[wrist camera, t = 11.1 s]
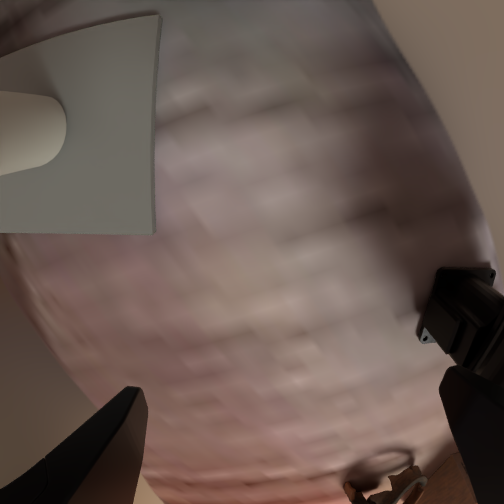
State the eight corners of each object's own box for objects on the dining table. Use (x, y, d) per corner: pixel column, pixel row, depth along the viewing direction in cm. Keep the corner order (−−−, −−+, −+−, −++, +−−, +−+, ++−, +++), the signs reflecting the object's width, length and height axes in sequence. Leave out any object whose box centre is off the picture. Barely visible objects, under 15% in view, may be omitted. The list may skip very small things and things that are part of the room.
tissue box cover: (404, 500, 35) (417, 544, 25) (451, 453, 30) (475, 503, 21) (495, 472, 36) (511, 503, 27) (536, 425, 32) (558, 457, 22)
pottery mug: (337, 471, 30) (382, 503, 22) (392, 434, 33) (438, 456, 26) (340, 519, 31) (376, 548, 23) (389, 486, 34) (426, 508, 27)
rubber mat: (162, 18, 15) (158, 14, 14) (155, 231, 20) (152, 235, 19) (-13, 67, 15) (-19, 66, 14) (-12, 230, 19) (-17, 232, 19)
